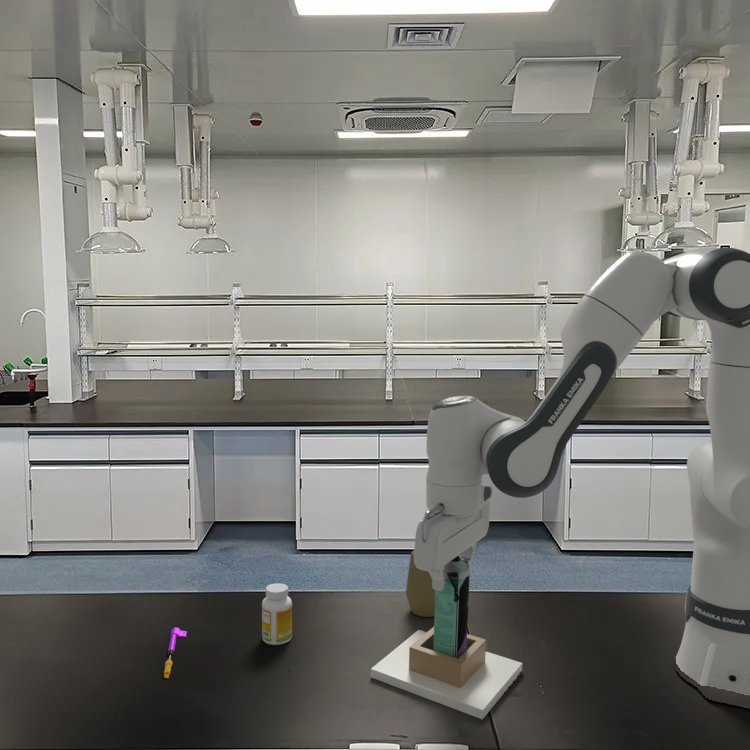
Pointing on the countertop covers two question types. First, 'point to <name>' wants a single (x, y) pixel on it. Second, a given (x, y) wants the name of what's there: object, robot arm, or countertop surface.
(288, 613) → the supplement bottle
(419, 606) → the squeeze bottle
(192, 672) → the countertop surface
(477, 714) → the socket board
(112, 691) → the countertop surface
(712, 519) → the robot arm
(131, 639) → the countertop surface
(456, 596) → the spray can
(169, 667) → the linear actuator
